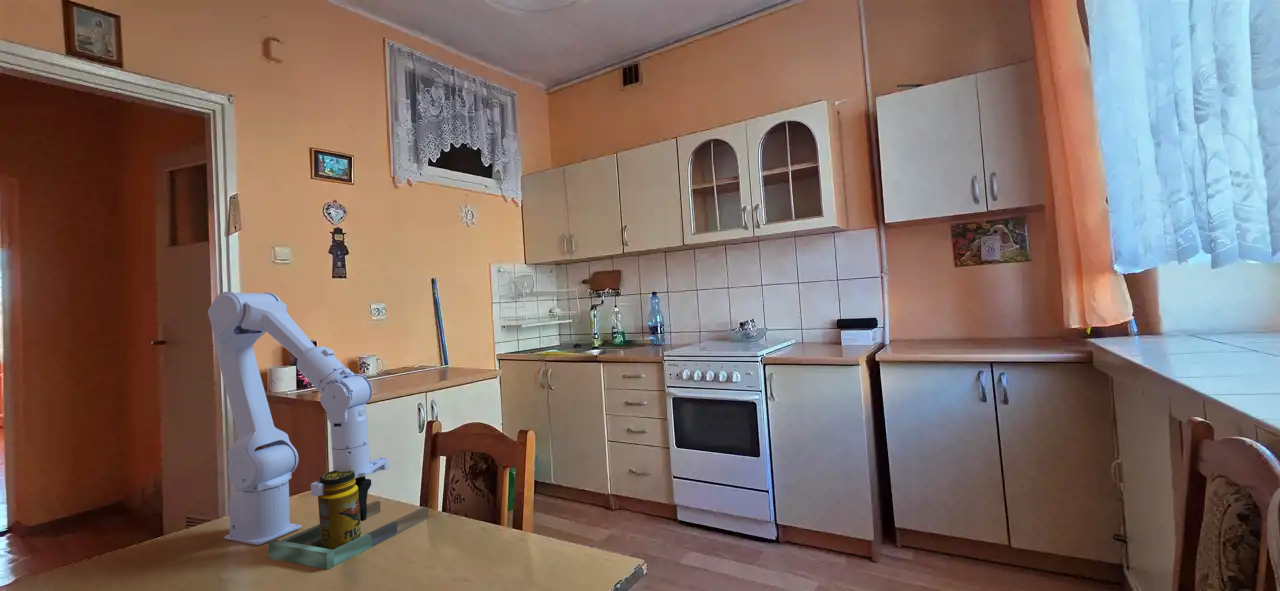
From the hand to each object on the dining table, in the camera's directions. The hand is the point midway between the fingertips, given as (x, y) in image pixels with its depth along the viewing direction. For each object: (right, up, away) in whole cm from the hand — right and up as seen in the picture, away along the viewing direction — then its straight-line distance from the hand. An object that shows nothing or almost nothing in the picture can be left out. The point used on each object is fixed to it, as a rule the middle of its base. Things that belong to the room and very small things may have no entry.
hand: (355, 522), depth 97 cm
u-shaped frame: (0, -3, +1) cm, 3 cm away
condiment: (-1, -2, -4) cm, 5 cm away
